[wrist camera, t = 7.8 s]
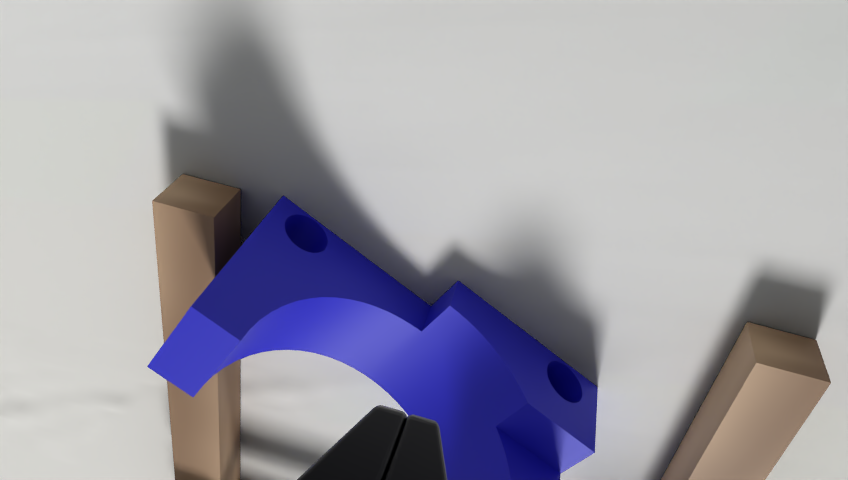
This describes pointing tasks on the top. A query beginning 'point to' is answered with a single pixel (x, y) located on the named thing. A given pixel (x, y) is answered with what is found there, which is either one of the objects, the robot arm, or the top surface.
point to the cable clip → (391, 349)
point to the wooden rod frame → (685, 476)
